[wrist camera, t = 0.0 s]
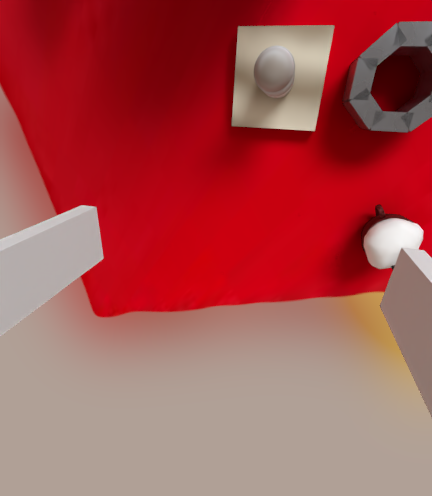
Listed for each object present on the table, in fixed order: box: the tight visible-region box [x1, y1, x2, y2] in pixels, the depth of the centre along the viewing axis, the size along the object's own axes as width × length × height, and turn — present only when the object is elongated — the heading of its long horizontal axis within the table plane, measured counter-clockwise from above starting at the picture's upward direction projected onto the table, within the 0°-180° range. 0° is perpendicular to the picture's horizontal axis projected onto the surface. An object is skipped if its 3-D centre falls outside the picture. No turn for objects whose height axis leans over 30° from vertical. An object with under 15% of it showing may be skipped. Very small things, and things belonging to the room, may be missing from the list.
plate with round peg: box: [232, 25, 334, 131], centre depth 28 cm, size 10×10×11 cm
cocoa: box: [361, 205, 423, 269], centre depth 32 cm, size 10×6×12 cm, turn 3°
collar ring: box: [342, 22, 432, 132], centre depth 29 cm, size 9×9×4 cm
